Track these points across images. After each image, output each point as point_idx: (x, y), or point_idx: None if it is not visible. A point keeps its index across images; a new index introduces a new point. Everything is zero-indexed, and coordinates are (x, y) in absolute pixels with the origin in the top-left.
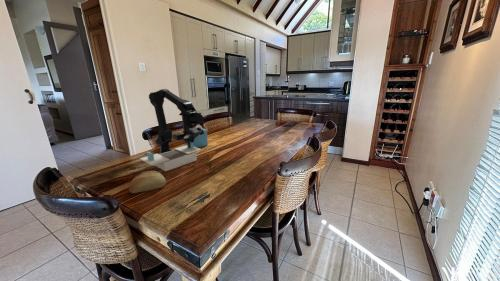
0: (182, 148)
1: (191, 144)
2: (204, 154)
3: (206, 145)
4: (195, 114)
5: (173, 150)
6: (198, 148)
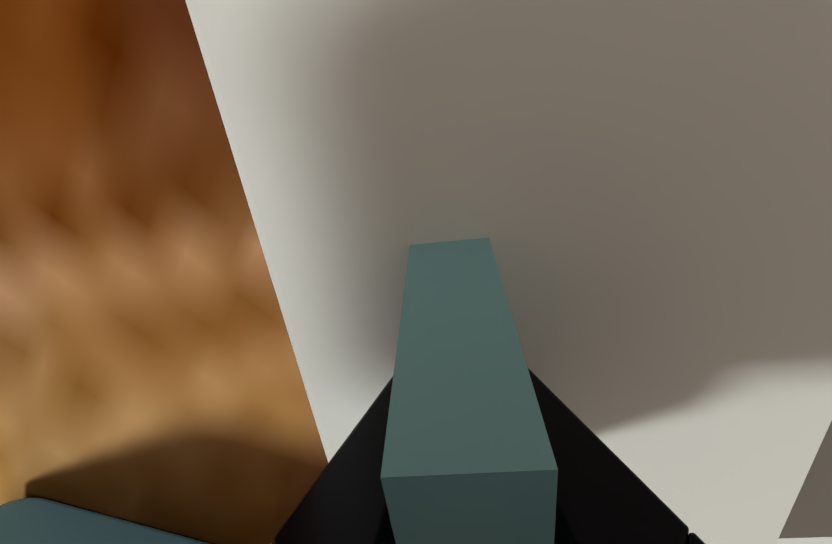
0: (644, 481)
1: (522, 368)
2: (167, 169)
3: (24, 498)
4: None
5: (793, 531)
6: (241, 98)
